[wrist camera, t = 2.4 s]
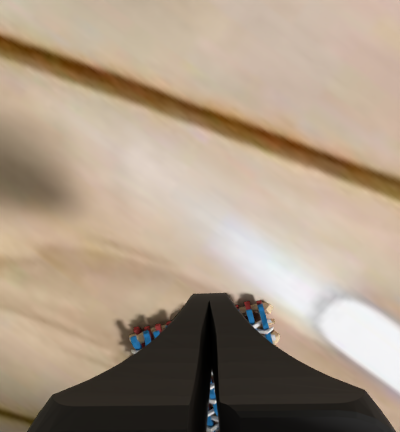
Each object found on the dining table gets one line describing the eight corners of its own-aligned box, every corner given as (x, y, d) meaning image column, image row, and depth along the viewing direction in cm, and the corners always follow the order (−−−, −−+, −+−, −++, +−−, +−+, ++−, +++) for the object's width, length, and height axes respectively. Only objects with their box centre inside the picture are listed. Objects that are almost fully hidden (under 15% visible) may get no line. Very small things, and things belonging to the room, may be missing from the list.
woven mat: (169, 438, 24) (165, 464, 22) (128, 323, 22) (119, 340, 20) (298, 413, 23) (306, 437, 21) (268, 290, 21) (274, 304, 19)
